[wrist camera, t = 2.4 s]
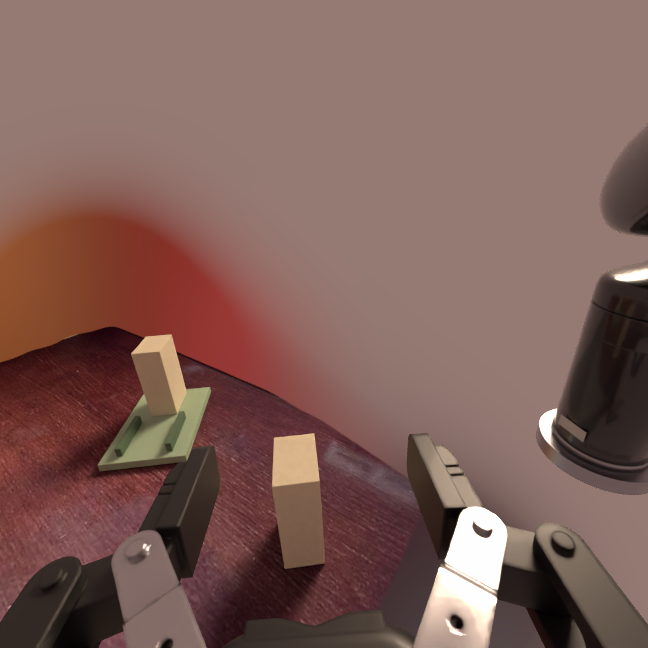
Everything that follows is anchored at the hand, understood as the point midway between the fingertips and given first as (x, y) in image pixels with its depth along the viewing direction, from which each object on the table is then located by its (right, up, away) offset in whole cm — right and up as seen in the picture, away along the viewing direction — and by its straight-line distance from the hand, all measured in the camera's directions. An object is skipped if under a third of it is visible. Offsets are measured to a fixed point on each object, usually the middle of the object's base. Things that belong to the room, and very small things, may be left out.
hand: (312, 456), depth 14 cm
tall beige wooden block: (-1, -14, +17) cm, 22 cm away
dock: (-22, -9, +32) cm, 39 cm away
